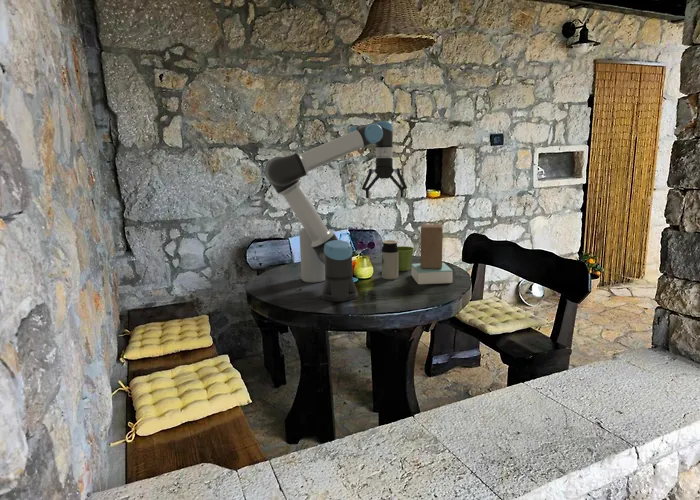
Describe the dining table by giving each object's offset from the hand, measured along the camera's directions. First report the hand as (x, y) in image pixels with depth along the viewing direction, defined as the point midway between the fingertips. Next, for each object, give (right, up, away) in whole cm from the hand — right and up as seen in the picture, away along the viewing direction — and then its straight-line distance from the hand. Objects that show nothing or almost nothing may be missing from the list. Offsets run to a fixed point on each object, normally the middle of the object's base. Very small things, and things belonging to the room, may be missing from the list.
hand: (384, 205), depth 212 cm
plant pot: (+12, -31, +32) cm, 46 cm away
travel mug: (+4, -34, +17) cm, 38 cm away
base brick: (+23, -34, +12) cm, 43 cm away
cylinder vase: (-33, -35, +17) cm, 51 cm away
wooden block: (+23, -28, +11) cm, 38 cm away
